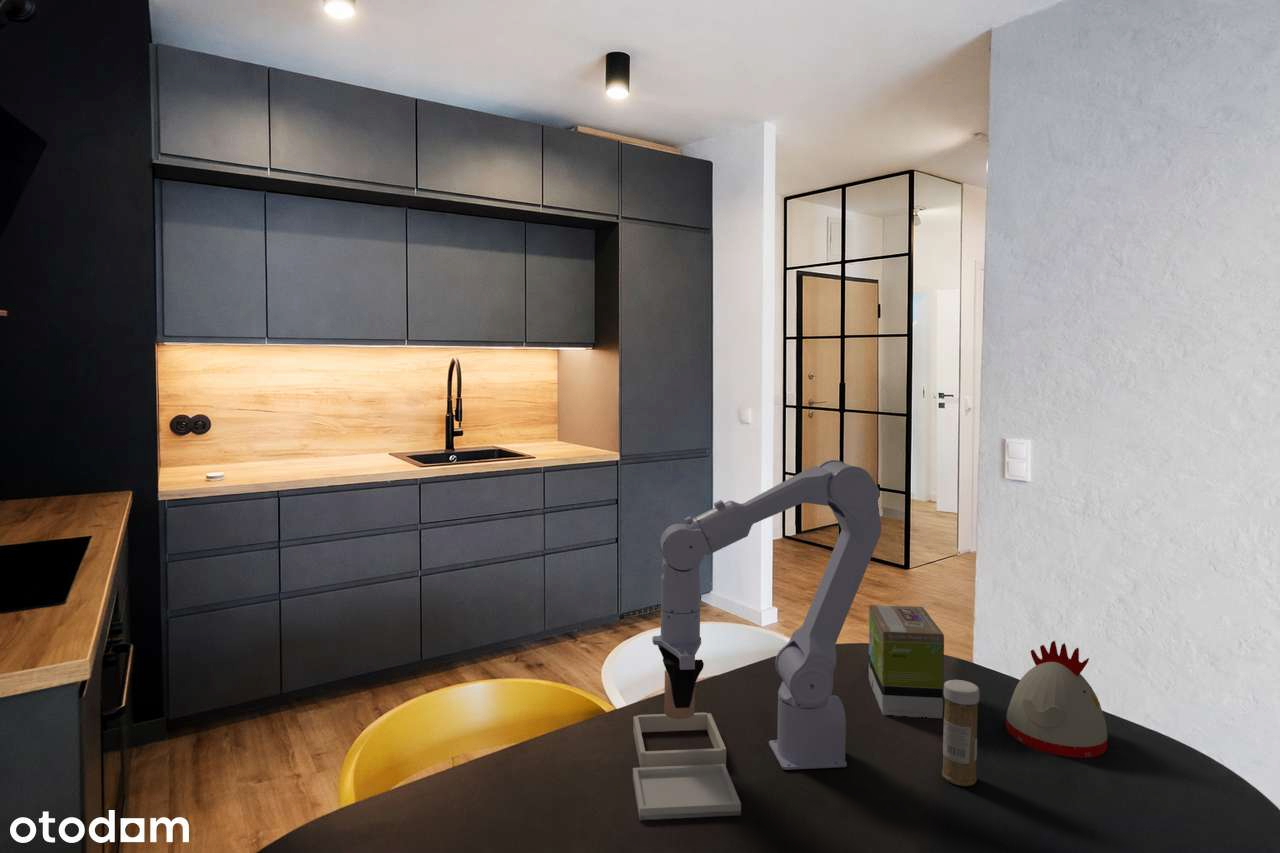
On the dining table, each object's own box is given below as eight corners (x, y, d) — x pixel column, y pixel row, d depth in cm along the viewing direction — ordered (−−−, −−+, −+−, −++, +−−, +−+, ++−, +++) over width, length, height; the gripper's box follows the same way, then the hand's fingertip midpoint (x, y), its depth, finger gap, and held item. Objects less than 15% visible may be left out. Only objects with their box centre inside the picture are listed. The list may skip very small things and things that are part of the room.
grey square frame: (710, 727, 119) (710, 712, 119) (726, 767, 107) (726, 750, 106) (633, 730, 118) (633, 715, 118) (640, 771, 105) (640, 754, 105)
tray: (724, 774, 105) (724, 763, 105) (740, 815, 95) (740, 803, 95) (632, 778, 104) (632, 767, 103) (639, 820, 94) (639, 808, 94)
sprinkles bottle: (983, 781, 103) (986, 686, 103) (963, 791, 101) (966, 694, 100) (953, 767, 107) (956, 675, 106) (934, 776, 105) (936, 682, 104)
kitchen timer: (1088, 767, 107) (1092, 665, 106) (991, 733, 118) (994, 641, 117) (1119, 737, 116) (1123, 644, 116) (1027, 708, 127) (1030, 622, 126)
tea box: (866, 680, 138) (868, 602, 137) (922, 684, 137) (924, 605, 136) (881, 716, 123) (883, 629, 123) (944, 720, 122) (947, 632, 121)
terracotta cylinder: (691, 705, 111) (692, 666, 111) (696, 718, 107) (697, 677, 106) (662, 706, 111) (662, 666, 110) (666, 719, 106) (666, 678, 106)
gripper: (648, 594, 115) (647, 680, 115) (658, 624, 100) (658, 722, 101) (693, 593, 115) (692, 679, 116) (710, 623, 101) (709, 721, 102)
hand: (679, 699), depth 109 cm, fingers closed on terracotta cylinder, 4 cm apart
